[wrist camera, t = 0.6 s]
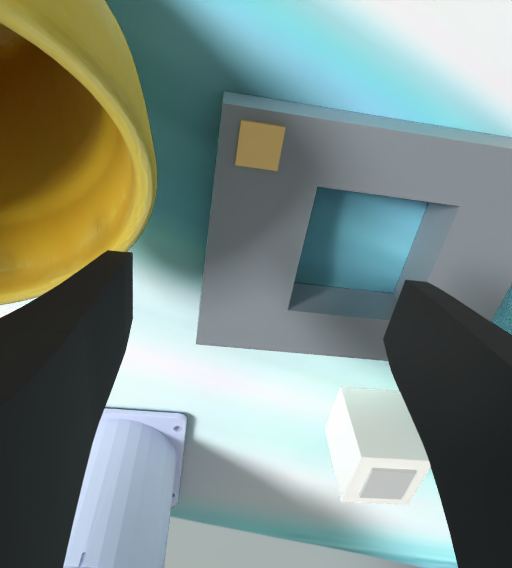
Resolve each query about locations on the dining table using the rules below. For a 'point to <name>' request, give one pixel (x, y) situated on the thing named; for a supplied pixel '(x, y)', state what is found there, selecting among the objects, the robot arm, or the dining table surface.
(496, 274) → the socket plate
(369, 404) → the plug block
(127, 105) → the plant pot
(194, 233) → the dining table surface
